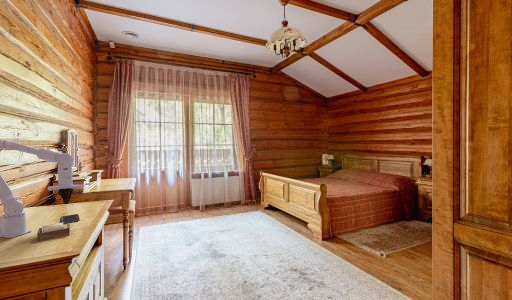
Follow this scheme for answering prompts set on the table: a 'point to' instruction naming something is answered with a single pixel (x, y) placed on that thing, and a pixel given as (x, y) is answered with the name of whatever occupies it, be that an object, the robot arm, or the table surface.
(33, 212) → the table surface
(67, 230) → the roll holder
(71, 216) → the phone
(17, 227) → the robot arm
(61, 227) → the paper roll
